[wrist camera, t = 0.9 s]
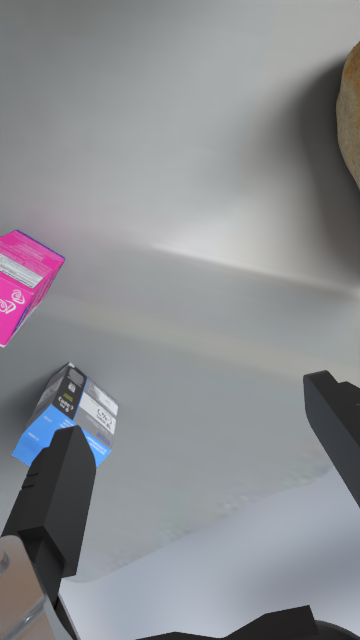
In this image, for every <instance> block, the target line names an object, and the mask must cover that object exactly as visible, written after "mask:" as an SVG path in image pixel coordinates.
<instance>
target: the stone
mask: <svg viewBox="0 0 360 640" xmlns="http://www.w3.org/2000/svg"><path fill="white" fill-rule="evenodd" d="M336 115H337V130H338V144H339V148H340V150H341V153H342V155H343V159H344V162H345V164H346V165H347V167H348V169H349V171H350V173H351V174H352V176H353V178H354V179H355V181H356V183H357V186H358V188H359V190H360V42H359V43H358V44H357V45H356V46H355V47H354V48H353V49H352V51H351V52H350V54H349V55H348V57H347V59H346V62H345V65H344V69H343V73H342V79H341V88H340V92H339V95H338V98H337V102H336Z"/></svg>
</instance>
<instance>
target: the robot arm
mask: <svg viewBox="0 0 360 640" xmlns="http://www.w3.org/2000/svg"><path fill="white" fill-rule="evenodd" d="M303 384H304V398H305V410H306V415H307V418H308V421H309V423H310V425H311V427H312V429H313V431H314V432H315V434H316V436H317V437H318V439H319V441H320V442H321V444H322V446H323V447H324V449H325V451H326V452H327V454H328V456H329V457H330V459H331V461H332V462H333V464H334V466H335V467H336V469H337V471H338V472H339V474H340V476H341V477H342V479H343V481H344V482H345V484H346V486H347V487H348V489H349V491H350V492H351V494H352V496H353V497H354V499H355V501H356V502H357V504H358V506H359V507H360V388H358V387H356V386H355V385H353V384H351V383H349V382H347V381H346V382H341V383H338V382H337V381H336V380H335V379H334V377H333V376H332V375H331V374H330V373H329V372H328V371H327V370H324V371H320V372H315V373H311V374H306V375H304V377H303ZM95 475H96V461H95V457H94V454H93V452H92V450H91V448H90V445H89V443H88V441H87V439H86V437H85V435H84V433H83V431H82V429H81V427H80V426H79V425H75V426H70V427H66V428H61V429H57V430H56V431H55V432H54V435H53V437H52V440H51V442H50V445H49V447H45V448H43V449H42V450H41V451H40V452H39V454H38V455H37V456H36V457H35V459H34V460H33V461H32V463H31V466H30V468H29V470H28V473H27V475H26V476H27V478H25V480H24V482H23V485H22V487H21V488H22V490H20V492H19V494H18V497H17V499H16V501H15V504H14V506H13V509H12V511H11V513H10V516H9V518H8V520H7V523H6V525H5V528H4V530H3V532H2V535H1V537H0V640H81V639H80V637H79V635H78V632H77V630H76V628H75V626H74V624H73V621H72V619H71V617H70V615H69V613H68V610H67V608H66V606H65V604H64V602H63V599H62V597H61V596H60V594H59V587H60V582H61V579H62V578H64V577H69V576H74V575H76V571H77V566H78V561H79V556H80V551H81V546H82V541H83V536H84V531H85V526H86V521H87V515H88V510H89V505H90V500H91V495H92V490H93V485H94V480H95ZM136 640H360V637H359V636H357V635H355V634H354V633H352V632H350V631H349V630H347V629H344V628H342V627H340V626H337V625H335V624H331V623H327V622H324V621H319V620H314V617H313V614H312V611H311V609H310V606H309V605H307V606H302V607H297V608H292V609H287V610H282V611H277V612H272V613H267V614H264V615H262V616H261V617H259V618H257V619H255V620H254V621H252V622H250V623H249V624H247V625H245V626H243V627H242V628H240V629H238V630H237V631H235V632H233V633H232V634H230V635H228V636H226V637H224V638H213V637H207V636H200V635H194V634H187V633H180V632H172V633H166V634H161V635H157V636H151V637H146V638H142V639H136Z"/></svg>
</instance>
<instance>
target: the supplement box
mask: <svg viewBox="0 0 360 640" xmlns="http://www.w3.org/2000/svg"><path fill="white" fill-rule="evenodd" d="M64 261H65V258H64V257H62V256H61V255H59V254H57V253H55V252H54V251H52V250H50V249H49V248H47V247H45V246H44V245H42V244H40V243H39V242H37V241H35V240H34V239H32V238H30V237H29V236H27V235H25V234H23V233H22V232H20V231H18V230H15V231H13V232H10V233H8V234H6V235H4V236H2V237H0V346H1V347H5V346H6V345H7V344H8V342H9V341H10V340H11V339H12V337H13V336H14V335H15V334H16V332H17V331H18V330H19V329H20V328H21V326H22V325H23V324H24V323H25V322H26V320H27V319H28V318H29V317H30V315H31V314H32V313H33V312H34V310H35V309H36V308H37V307H38V306H39V304H40V303H41V302H42V300H43V299H44V297H45V295H46V293H47V291H48V289H49V287H50V285H51V283H52V282H53V280H54V278H55V276H56V275H57V273H58V271H59V269H60V268H61V266H62V264H63V263H64Z"/></svg>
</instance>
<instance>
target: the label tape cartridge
mask: <svg viewBox="0 0 360 640" xmlns="http://www.w3.org/2000/svg"><path fill="white" fill-rule="evenodd" d="M117 410H118V403H117V402H115V401H114V400H113V399H112V398H111V397H110V396H108V395H107V394H106V393H105V392H104V391H103V390H101V389H100V388H99V387H98V386H97V385H96V384H95V383H93V382H92V381H91V380H90V379H89V378H88V377H87V376H85V375H84V374H83V373H82V372H81V371H80V370H78V369H77V368H76V367H75V366H74V365H73V364H72V363H68V364H67V365H66V366H65V367H64V368H62V369H61V370H60V371H59V372H58V373H56V374H55V375H54V376H53V377H52V378H51V379H50V381H49V383H48V384H47V387H46V388H45V391H44V393H43V394H42V396H41V398H40V400H39V402H38V404H37V406H36V408H35V410H34V412H33V414H32V416H31V418H30V419H29V421H28V423H27V425H26V427H25V429H24V431H23V433H22V435H21V438H20V439H19V441H18V444H17V445H16V447H15V449H14V451H13V453H12V454H11V455H12V456H13V457H15V458H17V459H18V460H20V461H21V462H23V463H24V464H26V465H27V466H28V467H30V466H31V463H32V461H33V460H34V459H35V457H36V456H37V455H38V454H39V452H40V451H41V450H42V449H43V448H45V447H49V445H50V442H51V440H52V437H53V435H54V432H55V431H56V430H57V429H61V428H66V427H70V426H75V425H79V426H80V427H81V429H82V431H83V433H84V435H85V437H86V439H87V441H88V443H89V445H90V448H91V450H92V452H93V454H94V457H95V461H96V468H97V467H98V466H99V464H100V463H101V462H102V461H103V460H104V459H105V458H106V457H107V455H108V454H109V453H110V452H111V449H112V443H113V436H114V430H115V423H116V417H117Z"/></svg>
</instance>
